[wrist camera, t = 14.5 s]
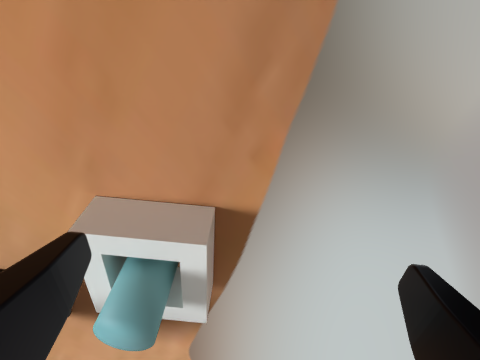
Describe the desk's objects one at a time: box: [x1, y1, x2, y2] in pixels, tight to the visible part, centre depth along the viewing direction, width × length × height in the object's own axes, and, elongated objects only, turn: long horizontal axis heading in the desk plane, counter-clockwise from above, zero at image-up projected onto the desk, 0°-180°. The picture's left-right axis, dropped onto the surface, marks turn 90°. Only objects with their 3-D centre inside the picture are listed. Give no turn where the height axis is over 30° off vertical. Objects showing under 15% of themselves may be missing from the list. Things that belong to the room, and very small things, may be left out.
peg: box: [93, 257, 179, 351], centre depth 22 cm, size 4×4×8 cm
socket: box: [68, 196, 215, 323], centre depth 24 cm, size 9×9×4 cm
